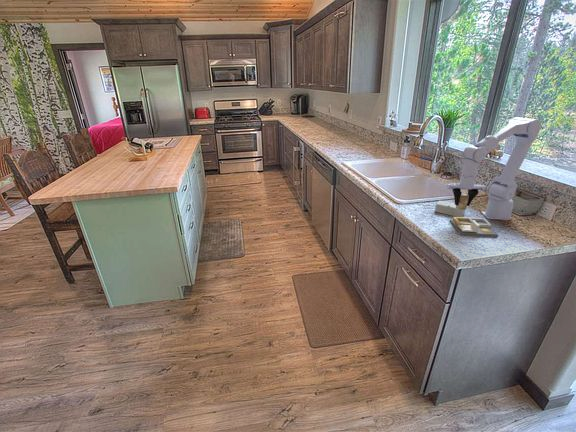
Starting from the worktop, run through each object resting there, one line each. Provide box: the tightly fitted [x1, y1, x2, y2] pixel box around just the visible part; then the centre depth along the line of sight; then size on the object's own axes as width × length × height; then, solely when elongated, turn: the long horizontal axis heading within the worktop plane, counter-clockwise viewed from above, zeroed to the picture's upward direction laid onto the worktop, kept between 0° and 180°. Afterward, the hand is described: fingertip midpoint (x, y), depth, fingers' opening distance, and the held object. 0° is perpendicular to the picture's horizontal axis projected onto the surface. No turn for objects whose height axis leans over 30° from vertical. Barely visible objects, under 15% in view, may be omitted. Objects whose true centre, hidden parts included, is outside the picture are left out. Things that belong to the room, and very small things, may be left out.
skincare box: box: [434, 200, 466, 217], centre depth 145 cm, size 6×4×12 cm
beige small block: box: [456, 193, 469, 211], centre depth 133 cm, size 4×4×6 cm
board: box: [449, 216, 499, 238], centre depth 130 cm, size 14×14×2 cm
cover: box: [458, 220, 480, 232], centre depth 126 cm, size 6×5×3 cm
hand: (461, 204), depth 133 cm, fingers closed on beige small block, 4 cm apart
